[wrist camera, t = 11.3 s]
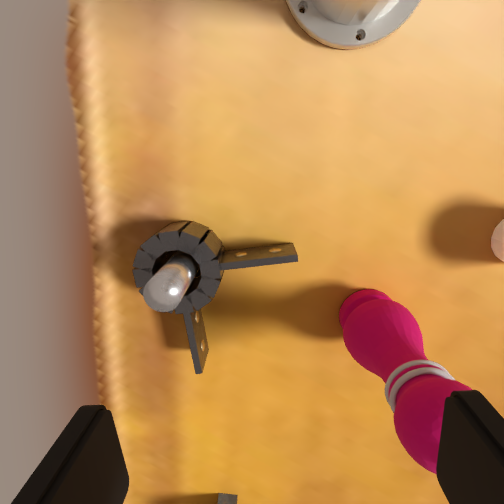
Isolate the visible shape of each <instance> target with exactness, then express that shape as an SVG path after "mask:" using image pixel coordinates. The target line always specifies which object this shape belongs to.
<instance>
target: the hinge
mask: <svg viewBox="0 0 504 504" xmlns="http://www.w3.org/2000/svg"><path fill="white" fill-rule="evenodd" d="M208 229H209V228H208V227H206V226H203V225H201V224H199V223H196V222H194V221H193V222H192V223H190V221H183V222H175V223H172V224H169V225H168V226H166V227H165V228H163V229H162V230H160V231H159V232H158V233H156V234H155V235H153V236H152V237H151V238H150V239H148V240H147V241H146V242H145V243H143V244H142V245H141V247H140V248H139V249H138V251H137V254H136V257H135V260H134V263H133V267H135V268H134V269H133V270H132V271H133V275H134V279H135V283H136V287H137V288H138V287H142V288H141V289H140V290H139V292H140V293H141V294H142V295H143V290H144V287H145V285H146V284H147V282H148V281H149V280H150V279H151V278H152V277H153V276H154V275H155V274H156V273H157V272H158V271H159V270H160V269H161V267H162V266H163V265H164V264H165V263H166V262H167V261H168V260H167V256H166V255H167V253H168V251H173V250H180V251H182V252H185V253H187V254H190V255H191V256H192V257H193V258H194V259H195V260H196V262H197V263H198V264H199V265H200V271H201V275H200V276H199V277H197V278H193V280H192V282H191V284H190V285H189V287H188V289H187V291H186V292H185V294H184V296H183V297H182V299H181V301H180V303H179V304H178V306H177V307H176V308H175V313H176V314H182V313H183V315H184V320H185V325H186V330H187V334H188V339H189V344H190V349H191V354H192V359H193V363H194V368H195V373H196V374H201V373H202V372H203V368H204V365H205V361H206V357H207V354H208V350H209V349H208V344H207V339H206V333H205V328H204V323H203V318H202V312H201V308H202V307H203V306H205V305H206V304H208V303H209V302H210V301H212V298H214V296H215V294H216V291H217V289H218V287H219V284H220V282H221V279H222V276H223V273H224V270H229V269H237V268H246V267H255V266H263V265H272V264H281V263H289V262H298V256H297V252H296V250H295V247H294V245H293V243H287V244H279V245H271V246H262V247H254V248H246V249H237V250H229V251H224V246H221V245H222V242H221V241H220V239H219V238H218V237H217V236H216V234H215V233H214V232H213V231H212V230H211V231H210V232H208V233H207V231H208ZM173 311H174V309H173V310H171V311H169V313H171V314H172V312H173Z"/></svg>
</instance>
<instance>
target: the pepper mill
mask: <svg viewBox="0 0 504 504" xmlns="http://www.w3.org/2000/svg"><path fill="white" fill-rule="evenodd" d="M339 321H340V324H341V327H342V329H343V338H344V342H345V345H346V347H347V349H348V351H349V352H350V354H351V355H352V357H353V358H354V359H355V360H356V361H357V362H358V363H359V364H360V365H361V366H363V367H364V368H365V369H367V370H369V371H370V372H372V373H374V374H376V375H378V376H379V377H381V378H382V379H383V381H384V382H385V384H386V385H385V396H386V399H387V402H388V403H389V405H390V406H391V409H392V411H393V413H394V425H395V430H396V433H397V435H398V438H399V440H400V441H401V443H402V445H403V446H404V448H405V449H406V451H407V452H408V454H409V455H410V456H411V457H412V458H413V459H414V460H415V461H416V462H417V463H418V464H419V465H421V466H422V467H424V468H425V469H427V470H428V471H430V472H433V473H435V474H436V466H437V458H438V450H439V443H440V435H441V427H442V419H443V411H444V404H445V399H446V397H450V395H451V393H452V392H453V391H462V390H472V389H471V388H470V387H468V386H466V385H464V384H462V383H460V382H458V381H456V380H455V379H454V378H453V377H452V376H451V375H450V374H449V373H448V371H447V370H446V369H445V368H444V367H443V366H441V365H440V364H438V363H436V362H433V361H430V360H428V359H427V358H426V356H425V354H424V349H423V339H422V334H421V331H420V328H419V325H418V323H417V321H416V320H415V318H414V317H413V315H412V314H411V313H410V312H409V311H408V309H407V308H405V307H404V306H402V305H401V304H399V303H397V302H395V301H392V300H391V299H390V298H389V297H388V296H387V295H386V294H384V293H383V292H380V291H378V290H373V289H366V290H361V291H357V292H355V293H354V294H352V295H350V296H349V297H348V298H347V299H346V300H345V301H344V302H343V304H342V306H341V308H340V312H339Z"/></svg>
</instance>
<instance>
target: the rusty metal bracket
mask: <svg viewBox="0 0 504 504" xmlns="http://www.w3.org/2000/svg"><path fill="white" fill-rule="evenodd" d="M218 504H237V495H232V494H223V493H219V496H218Z"/></svg>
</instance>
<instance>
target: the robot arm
mask: <svg viewBox="0 0 504 504" xmlns="http://www.w3.org/2000/svg"><path fill="white" fill-rule="evenodd" d="M420 1H421V0H286V2H287V4H288V7H289V9H290V11H291V13H292V15H293V17H294V18H295V20H296V21H297V22H298V24H299V25H300V27H301V28H302V29H303V30H304V31H305V32H306V33H307V34H309V35H310V36H311V37H312V38H314V39H315V40H317V41H319V42H320V43H322V44H325V45H327V46H330V47H333V48H339V49H347V50H348V49H358V48H364V47H367V46H370V45H373V44H376V43H377V42H379V41H381V40H383V39H385V38H387V37H388V36H389V35H391V34H392V33H393V32H394V31H395V30H397V29H398V28H399V27H400V26H401V25H402V24H403V23H404V22H405V21H406V20H407V19H408V18H409V17H410V15H411V14H412V13H413V11H414V10H415V9H416V7H417V6H418V5H419V3H420ZM300 9H303V10H304V11H305V12H304V13H300V12H299V10H300ZM356 36H359V37H360V41H359V40H357V39H356ZM436 474H437V478H438V481H439V484H440V486H441V488H442V490H443V492H444V494H445V496H446V498H447V500H448V501H449V503H450V504H504V418H503V417H502V416H501V415H500V414H499V413H498V412H497V411H496V409H495V408H494V407H493V406H492V405H491V404H490V403H489V402H488V400H487V399H486V398H485V397H484V396H483V395H482V394H481V393H480V392H479V391H477V390H462V391H453V392H452V393H451V395H450V397H446V399H445V404H444V411H443V419H442V427H441V435H440V443H439V450H438V458H437V466H436ZM128 487H129V475H128V472H127V468H126V464H125V461H124V457H123V453H122V450H121V446H120V442H119V439H118V435H117V431H116V428H115V424H114V420H113V417H112V413H111V411H110V410H106V407H105V406H104V405H85V406H82V407H80V408H79V409H78V411H77V412H76V413H75V415H74V416H73V417H72V419H71V420H70V422H69V423H68V425H67V426H66V427H65V429H64V430H63V432H62V433H61V434H60V436H59V437H58V439H57V440H56V441H55V443H54V444H53V446H52V447H51V448H50V450H49V451H48V453H47V454H46V455H45V457H44V458H43V460H42V461H41V463H40V464H39V465H38V467H37V468H36V469H35V471H34V472H33V474H32V475H31V476H30V478H29V479H28V481H27V482H26V483H25V485H24V486H23V488H22V489H21V490H20V492H19V493H18V495H17V496H16V498H15V499H14V500H13V502H12V503H11V504H123V502H124V499H125V497H126V494H127V491H128Z"/></svg>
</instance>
